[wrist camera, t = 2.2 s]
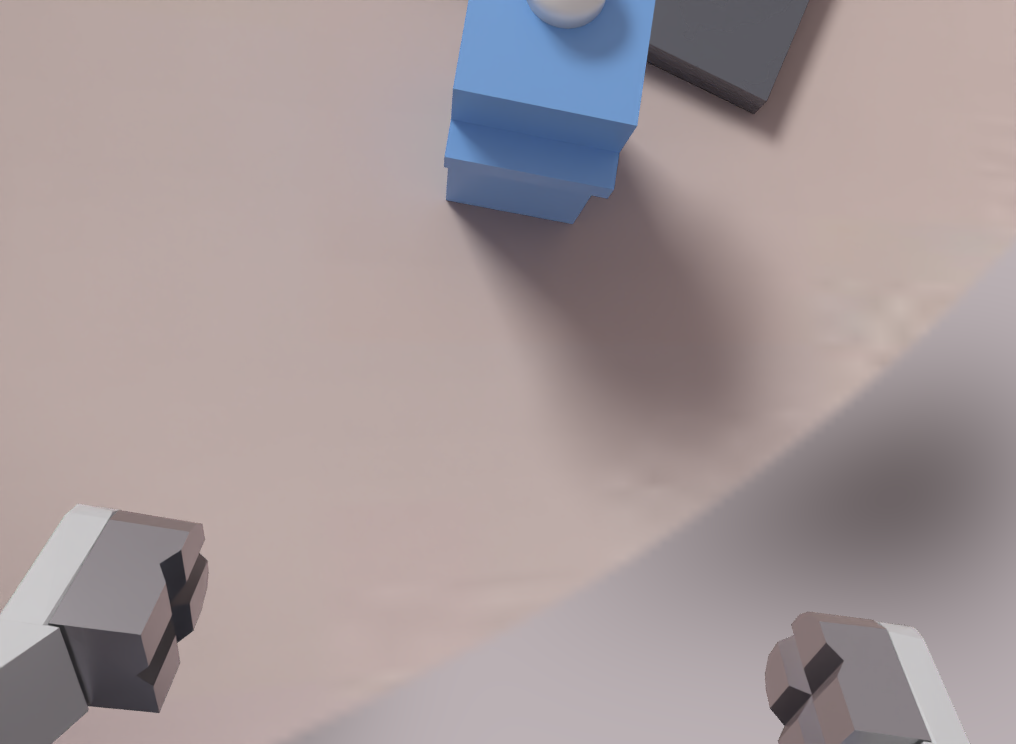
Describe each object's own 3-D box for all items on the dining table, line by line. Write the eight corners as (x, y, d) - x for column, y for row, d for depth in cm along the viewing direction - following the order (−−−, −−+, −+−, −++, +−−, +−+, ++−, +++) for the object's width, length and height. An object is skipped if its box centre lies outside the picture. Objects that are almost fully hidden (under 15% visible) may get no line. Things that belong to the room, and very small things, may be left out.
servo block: (440, 228, 25) (446, 114, 16) (471, 51, 26) (493, -151, 17) (568, 252, 25) (640, 152, 17) (595, 76, 26) (678, -108, 17)
